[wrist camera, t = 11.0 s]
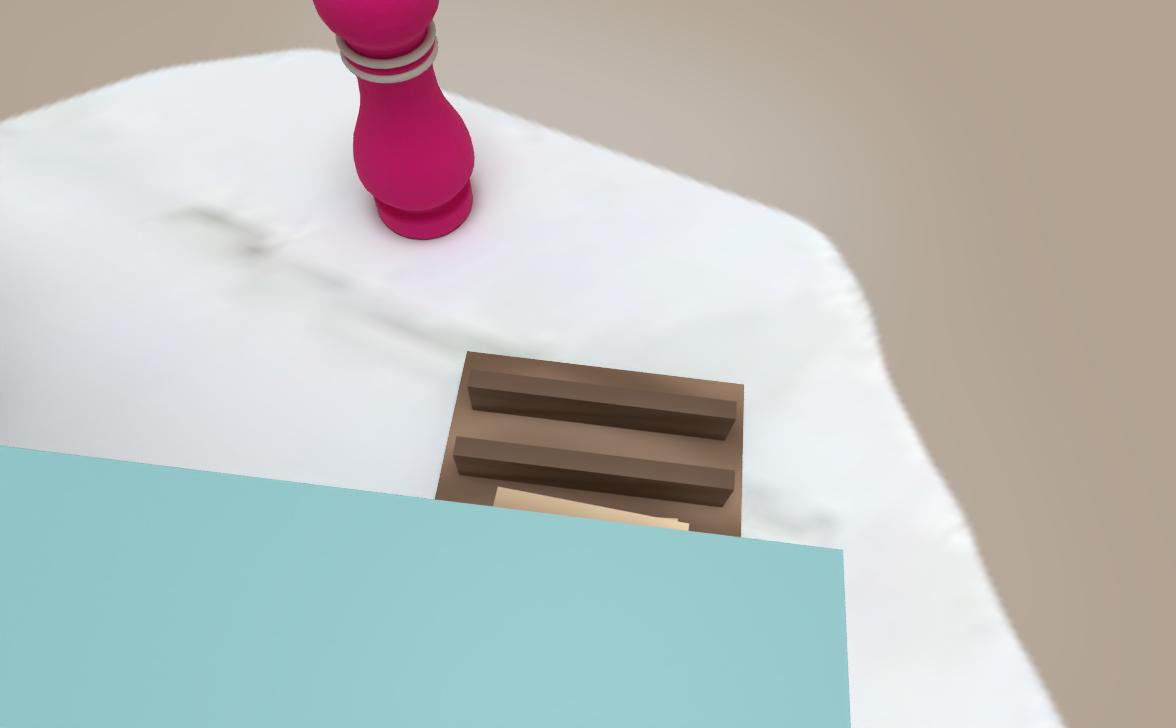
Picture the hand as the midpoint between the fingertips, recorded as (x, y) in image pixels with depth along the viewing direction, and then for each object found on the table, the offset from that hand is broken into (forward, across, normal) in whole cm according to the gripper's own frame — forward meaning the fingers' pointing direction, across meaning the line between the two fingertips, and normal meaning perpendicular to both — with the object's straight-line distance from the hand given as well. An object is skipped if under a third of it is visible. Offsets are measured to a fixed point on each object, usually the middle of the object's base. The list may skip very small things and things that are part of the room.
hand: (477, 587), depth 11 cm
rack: (+27, -2, +14) cm, 30 cm away
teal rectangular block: (+4, 0, +6) cm, 8 cm away
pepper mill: (+41, +11, 0) cm, 43 cm away
